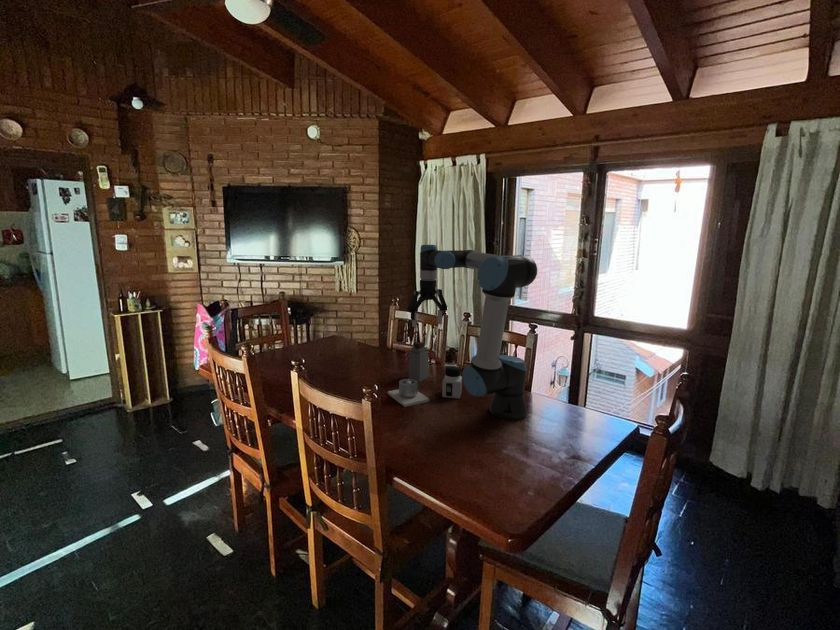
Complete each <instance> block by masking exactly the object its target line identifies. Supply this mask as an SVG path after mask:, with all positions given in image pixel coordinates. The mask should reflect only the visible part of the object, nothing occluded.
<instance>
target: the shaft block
mask: <svg viewBox="0 0 840 630" xmlns="http://www.w3.org/2000/svg"><path fill="white" fill-rule="evenodd" d="M406 384H411V381H406ZM387 395H388V396H390V397H391V398H392V399H394V400H395V401H396V402H398V403H399V404H400V405H401V406H402V407H404V408H405V407H406V408H407V407H412V406H415V405H421V404H425V403H429V402H430V398H429V397H427V396H426V395H424V393H421V392H419V390H417V395H415V396H402V395H400V394H399V388H397V389H393V390H388V391H387Z"/></svg>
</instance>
